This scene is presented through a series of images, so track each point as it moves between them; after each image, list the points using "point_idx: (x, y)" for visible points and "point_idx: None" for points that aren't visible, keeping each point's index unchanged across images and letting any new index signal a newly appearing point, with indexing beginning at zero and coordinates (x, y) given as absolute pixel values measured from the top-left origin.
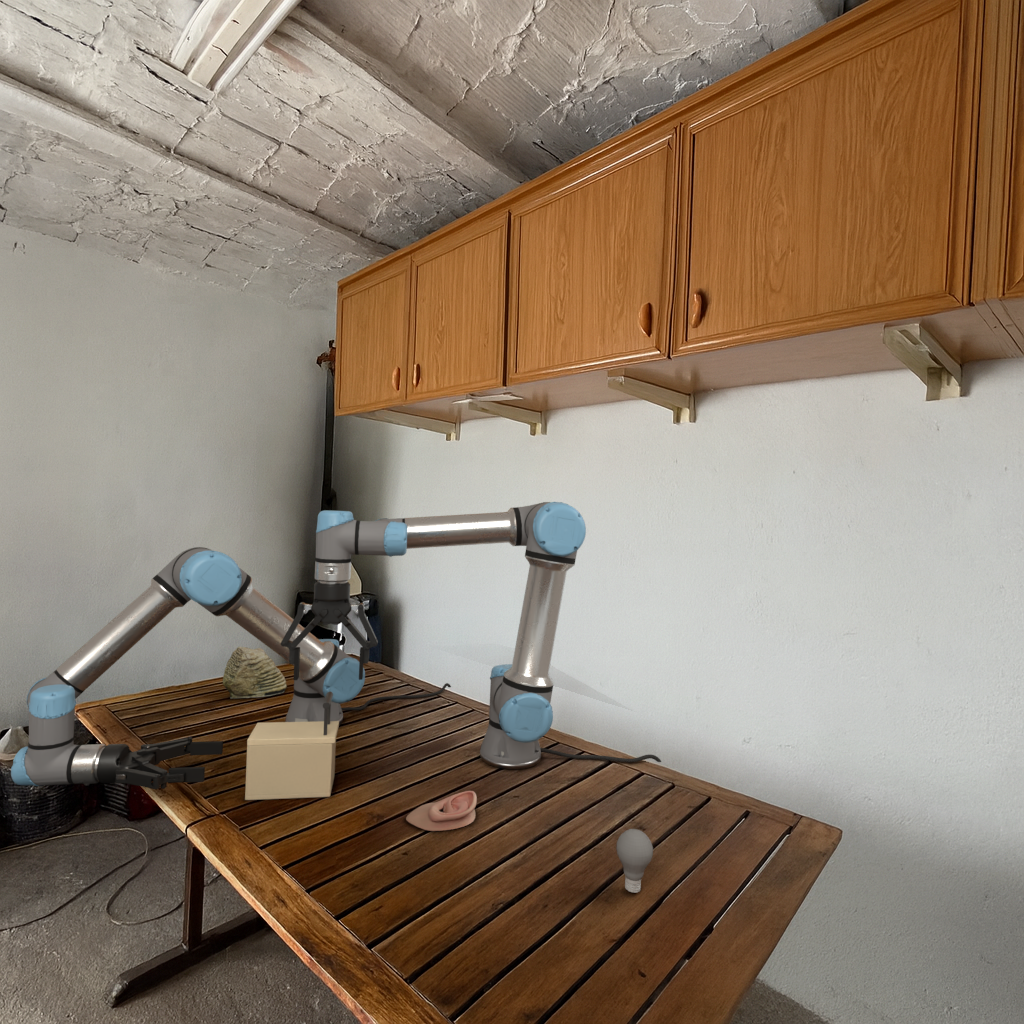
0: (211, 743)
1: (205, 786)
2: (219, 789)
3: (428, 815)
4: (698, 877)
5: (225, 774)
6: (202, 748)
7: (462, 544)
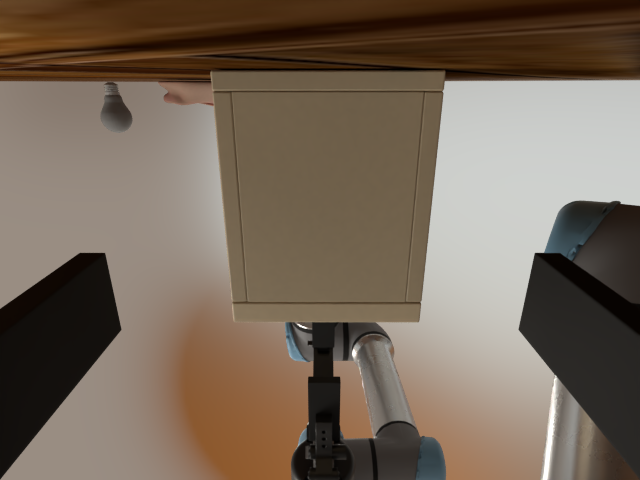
0: (554, 370)
1: (448, 50)
2: (351, 59)
3: (177, 97)
4: (148, 81)
5: (637, 58)
6: (611, 386)
7: (376, 373)
